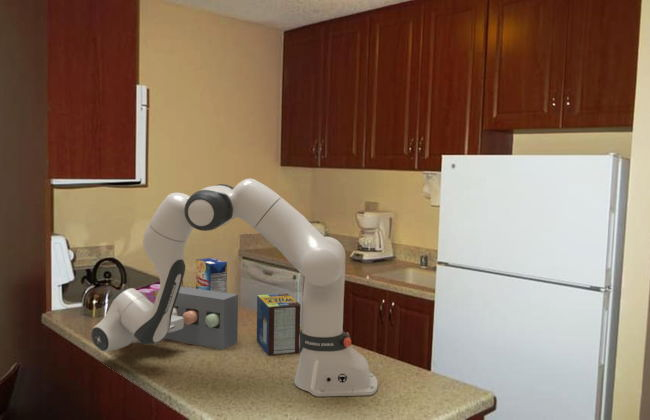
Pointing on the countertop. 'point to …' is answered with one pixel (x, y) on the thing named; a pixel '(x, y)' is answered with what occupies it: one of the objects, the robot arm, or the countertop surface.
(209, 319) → the sage button
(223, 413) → the countertop surface
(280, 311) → the protein box
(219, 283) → the beverage box
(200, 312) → the button panel
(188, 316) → the terracotta button
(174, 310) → the cream button
